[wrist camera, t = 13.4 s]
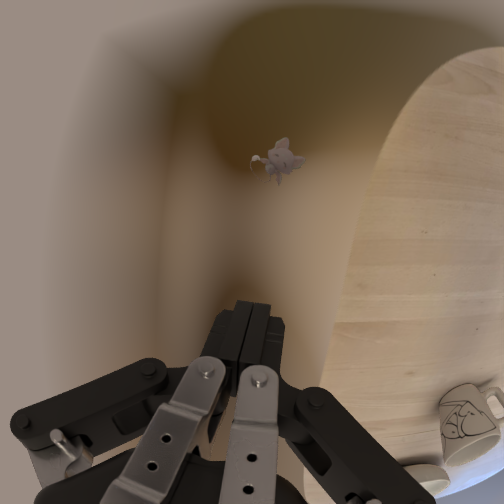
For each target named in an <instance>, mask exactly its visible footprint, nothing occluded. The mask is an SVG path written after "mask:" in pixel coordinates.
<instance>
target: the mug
mask: <svg viewBox="0 0 504 504" xmlns="http://www.w3.org/2000/svg"><path fill="white" fill-rule="evenodd" d="M492 395H495V396H496V397H497V399H498V400H499V402H500V403H501V405H502V406H503V408H504V393H503V392H502V390H501V389H500V388H499V387H491V388H489V389H487V390H486V391H484V392H483V393H480V392H479V390H478V389H477V388H476V387H475V386H474V385H472V384H464V385H461V386H458V387H456V388H454V389H453V390H451V391H450V392H448V393H447V394H446V395H445V396H444V397H443V398H442V400H441V401H440V404H439V413H440V432H441V441H442V449H443V458H444V463H445V465H446V466H448V467H454V466H459V465H462V464H465V463H468V462H470V461H472V460H475V459H476V458H478V457H480V456H482V455H483V454H485V453H487V452H488V451H489V450H491V449H492V448H493V447H494V446H495V445H496V444H497V443H498V442H499V441H500V439H501V432H500V428H501V427H503V426H504V417H502V418H500V419H496V418H495V417H494V415H493V414H492V412H491V410H490V408H489V406H488V404H487V402H486V401H487V399H488V398H489V397H490V396H492Z"/></svg>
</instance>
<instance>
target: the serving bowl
mask: <svg viewBox="0 0 504 504" xmlns="http://www.w3.org/2000/svg"><path fill="white" fill-rule="evenodd" d="M403 468H404V469H405V470H406V471H407V472H408V473H409V474H410V475H411V476H412V477H413V478H414V479H415V480H416V481H417V482H418V483H420V484H421V485H422V486H423V487H424V488H425V489H426V490H427V491H428V492H429V493H430V494H431V495H432V496H434V495H436V494H438V493H440V492H441V491H443V490H444V489H446V488H447V487H448V486H449V484H450V479H449V477H448V474H447V473H446V471H445V470H444V469H442V468H441V467H439V466H436V465H432V464H419V465H410V466H404V467H403Z"/></svg>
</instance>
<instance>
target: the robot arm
mask: <svg viewBox="0 0 504 504" xmlns="http://www.w3.org/2000/svg"><path fill="white" fill-rule="evenodd" d="M270 311H271V305H269V304H262V303H255V304H254V303H253V302H247V301H240V300H237V302H236V305H235V308H234V311H231V310H223V311H222V312H221V313H219V314H218V315H217V317H216V319H215V321H214V324H213V326H212V328H211V331H210V333H209V336H208V338H207V341H206V343H205V345H204V348H203V350H202V353H201V355H200V357H199V358H197V359H195V360H193V361H192V362H191V363H190V365H189V366H186V367H181V368H166V365H165V364H164V363H163V362H162V361H161V360H159V359H156V358H145V359H142V360H139V361H137V362H135V363H133V364H130V365H128V366H126V367H124V368H121V369H119V370H117V371H114V372H112V373H110V374H107V375H105V376H103V377H100V378H98V379H96V380H93V381H91V382H89V383H86V384H84V385H81V386H79V387H77V388H74V389H72V390H69V391H67V392H64V393H62V394H59V395H57V396H54V397H52V398H49V399H46V400H44V401H41V402H39V403H36V404H33V405H31V406H28V407H25V408H23V409H20V410H18V411H17V412H16V413H14V415H13V416H12V418H11V421H10V428H11V431H12V433H13V434H14V435H15V436H16V437H17V439H19V441H20V442H22V443H23V445H24V446H25V447H26V448H27V450H28V452H29V455H30V458H31V460H32V463H33V466H34V469H35V471H36V474H37V477H38V479H39V482H40V484H41V487H42V490H41V491H40V492H39V493H38V495H37V496H36V498H35V501H34V504H308V503H307V502H306V501H305V500H304V498H303V497H302V495H301V494H300V493H299V491H298V490H297V489H296V488H295V487H294V486H293V485H292V484H291V483H290V482H289V481H288V480H286V479H285V478H283V477H281V476H279V475H277V474H276V473H277V455H278V454H277V453H278V436H280V437H282V438H285V440H286V442H287V444H288V445H289V447H290V448H291V449H292V450H293V452H294V453H295V454H296V455H297V457H298V458H299V459H300V461H301V462H302V463H303V464H304V466H305V467H306V468H307V469H308V471H309V472H310V473H311V474H312V476H313V477H314V478H315V479H316V480H317V482H318V483H319V484H320V485H321V486H322V488H323V489H324V490H325V491H326V492H327V493H328V495H329V496H330V497H331V498H332V499H333V500H334V502H335V503H336V504H436V502H435V499H434V497H433V496H432V495H431V494H430V493H429V492H428V491H427V490H426V489H425V488H424V487H423V486H422V485H421V484H420V483H418V482H417V481H416V480H415V479H414V478H413V477H412V476H411V475H410V474H409V473H408V472H407V471H406V470H405V469H404V468H403V467H402V466H401V465H400V464H399V463H398V462H397V461H396V460H395V459H394V458H393V457H392V456H391V455H390V454H389V453H388V452H387V451H386V450H385V449H384V448H383V447H382V446H381V445H380V444H379V443H378V442H377V441H376V440H375V439H374V438H373V437H372V436H371V435H370V434H369V433H368V432H367V431H366V430H365V429H364V428H363V427H362V426H361V425H360V424H359V423H358V422H357V420H356V419H355V418H354V417H353V416H352V415H351V414H350V413H349V412H348V411H347V410H346V409H345V408H344V407H343V406H342V405H341V404H340V403H339V402H338V401H337V399H336V398H335V397H334V396H333V395H332V394H331V393H330V392H329V391H327V390H325V389H323V388H320V387H309V388H306V389H304V390H299V389H297V388H294V387H292V386H290V385H288V384H287V383H286V382H285V381H284V380H283V379H282V377H281V375H280V363H281V355H282V348H283V339H284V331H285V325H284V323H283V320H282V318H280V317H272V316H270ZM237 391H238V395H237ZM236 395H237V401H236V408H235V414H234V420H233V421H232V426H231V432H230V438H229V444H228V450H227V457H226V461H209V460H210V456H211V450H212V447H213V444H214V441H215V439H216V436H217V434H218V431H219V429H220V426H221V423H222V421H223V418H224V415H225V413H226V407H227V405H228V401H229V398H230V396H232V397H236ZM141 435H143V436H142V437H141V439H140V441H139V443H138V444H137V446H136V448H132V449H129V450H126V451H124V452H122V453H120V454H118V455H116V456H114V457H112V458H110V459H108V460H106V461H104V462H102V463H100V464H98V465H95V466H93V467H91V466H92V463H93V457H95V456H98V455H100V454H102V453H104V452H107V451H109V450H111V449H113V448H116V447H118V446H120V445H122V444H124V443H126V442H128V441H131V440H133V439H135V438H137V437H139V436H141Z"/></svg>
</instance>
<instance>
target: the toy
mask: <svg viewBox="0 0 504 504" xmlns="http://www.w3.org/2000/svg"><path fill="white" fill-rule="evenodd" d="M288 148H289V139H288V138H287V137H284V138H282V139H281V140H279V141H277V142H276V144H275V147H274V148H273V149H271V150H269V151H268V158H269V159H266V158H261V159H259V158H260V157H259V156H257V155H255V156H253V157H252V160H253V161H256V160H257V159H258V160H260V161H261V162H262V163H263V164H264V163H266V166H265V169H266V172H267V173H268V174H270V179H271V175H273V174H274V173H275V174H276V176H277V177H276V181H277V182H278V185H280V183H281V180H282V175H281V173H283V174H288V175H289V174H290V173H291V172H292V170H293V169H299V168H300V167H301V166H302V165H303V164H304V163H305V161H306V159H305V158H304V157H301V156H294V155H293V153H292V152H291V151H290V150H288ZM279 171H280V172H281V173H280V172H279ZM259 180H260V179H259ZM269 181H270V180H269Z"/></svg>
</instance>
